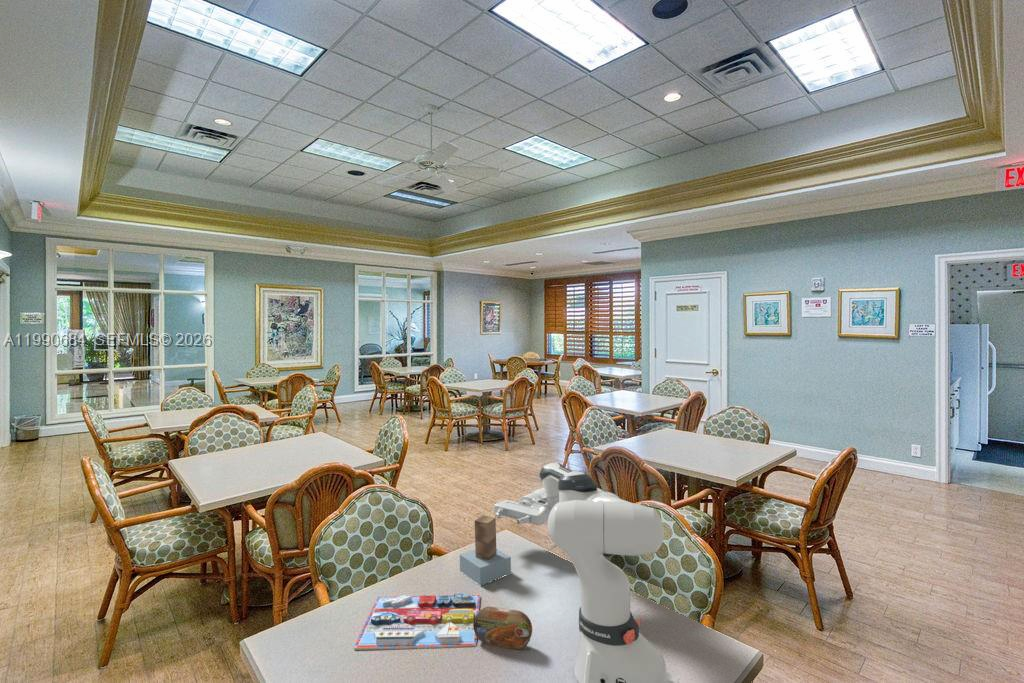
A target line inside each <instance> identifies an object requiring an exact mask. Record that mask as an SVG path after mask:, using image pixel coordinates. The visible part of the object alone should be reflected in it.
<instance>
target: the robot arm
mask: <svg viewBox="0 0 1024 683" xmlns="http://www.w3.org/2000/svg"><path fill="white" fill-rule="evenodd" d="M538 475H539V478H540V481H541V483H542V487H541V488H538V489H536V490H534V491H533V492H530V493H527V494H525V495H523V496H521V497H520V498H519V499H518V501H514V500H509V499H505V500H501V501H498V502H496V503H494V504H493V514H494V517H495V518H496V519H498V520H499V519H501V518H502V517H505V518H508V519H512V520H516V524H517V525H523V524H530V525H531V524H532V525H535V526H542V525H543V524H545V523H547V531H548V534H549V537H550V539H551V541H552V542H553V544H554V545H555V546H557V547H558V548H559V549H560V550H562V552H564V554H565V555H566V556H567V557H568V558H569V560H570V561H571V563H572V564H573V566H574V568H575V572H576V573H577V577H578V581H579V582H578V583H579V591H580V592H579V593H580V607H579V610H578V629H579V633H580V636H579V645H578V646H579V647H578V651H577V653H578V654H577V658H576V661H575V666H574V669H573V671H574V676H575V679H576V681H577V683H678V679H677V678H676V676H674V675H673V674H672V673H670V672H668V670H667V665H666V663H665V658H664V657H663V654H662V653H661V651H659V650H658V649H657V648H656V647H655V646H654V645H653V644H652V643H651V642H650V641H649V640H648V639H647V638H646V637H645V636H644V635H643V634H642V632H640V626H641V625H642V618H641V617H640V618H638V620H637V621H636V620H635V618H634V616H633V613H632V611H631V582H630V580H629V578H628V576H627V575H626V573H625V571H624V570H623V569H621V568H620V567H619V566H617V565H616V564H615V563H613V562H611V561H609V560H608V559H607V558H606V557H605V556H604V554H609V555H620V556H621V555H622V556H631V557H633V556H644V555H651V554H656V552H658V551H659V549H660V548H661V547H662V544H663V543H664V542H663V541H664V537H665V527H664V524H663V520H662V518H661V517H660V514H659V513H658V512H657V510H655V508H653V507H649V506H646V505H642V504H639V503H633V502H631V501H627V500H625V499H622V498H621V497H620V496H618V495H617V494H615V493H613V492H609V491H605V490H603V489H601V488H599V485H600V484H599V483H598V482H597V483H596V482H595V481H594V479H593V478H592V476H591V475H589V474H588V473H586V472H582V471H577V470H574V471H573V470H572V469H569V468H567V467H565V465H564V464H561V463H560V462H551V463H547V464H545V465H543V466H542V468H541V470H540V472H539V474H538Z"/></svg>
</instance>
